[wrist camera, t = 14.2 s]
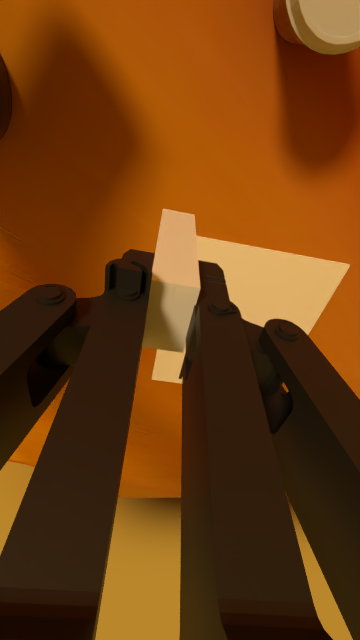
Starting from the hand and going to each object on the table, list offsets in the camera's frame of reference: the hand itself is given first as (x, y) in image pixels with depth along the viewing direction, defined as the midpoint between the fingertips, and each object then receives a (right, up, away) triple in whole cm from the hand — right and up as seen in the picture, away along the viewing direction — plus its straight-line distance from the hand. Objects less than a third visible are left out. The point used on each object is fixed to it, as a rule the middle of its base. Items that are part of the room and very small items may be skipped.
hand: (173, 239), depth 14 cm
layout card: (+11, -6, +42) cm, 44 cm away
